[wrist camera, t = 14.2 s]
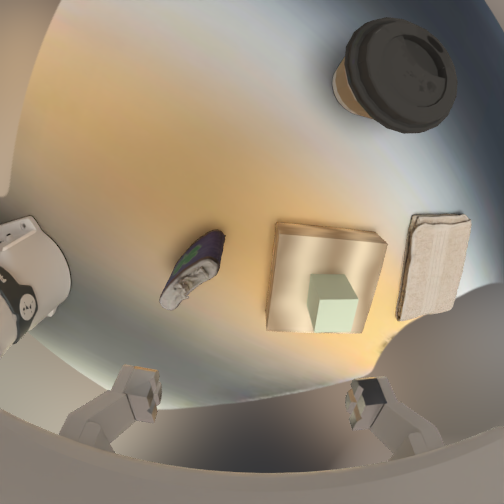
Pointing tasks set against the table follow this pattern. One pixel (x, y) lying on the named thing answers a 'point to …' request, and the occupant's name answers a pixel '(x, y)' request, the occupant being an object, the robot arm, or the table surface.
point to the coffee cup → (396, 76)
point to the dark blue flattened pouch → (193, 269)
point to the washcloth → (432, 264)
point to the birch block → (320, 271)
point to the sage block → (331, 303)
